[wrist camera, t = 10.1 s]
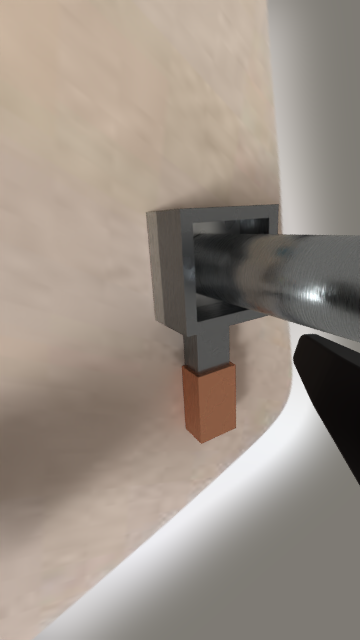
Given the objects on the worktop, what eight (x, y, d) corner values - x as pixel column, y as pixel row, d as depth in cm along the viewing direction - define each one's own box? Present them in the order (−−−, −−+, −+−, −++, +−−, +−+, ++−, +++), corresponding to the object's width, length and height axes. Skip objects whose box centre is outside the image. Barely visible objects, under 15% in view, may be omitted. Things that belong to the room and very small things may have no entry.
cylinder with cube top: (174, 289, 22) (379, 353, 11) (189, 225, 21) (422, 220, 10) (222, 299, 24) (431, 359, 13) (236, 242, 24) (468, 253, 12)
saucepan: (165, 437, 27) (194, 470, 23) (146, 212, 21) (179, 209, 18) (235, 407, 30) (270, 432, 27) (234, 207, 25) (278, 204, 21)
